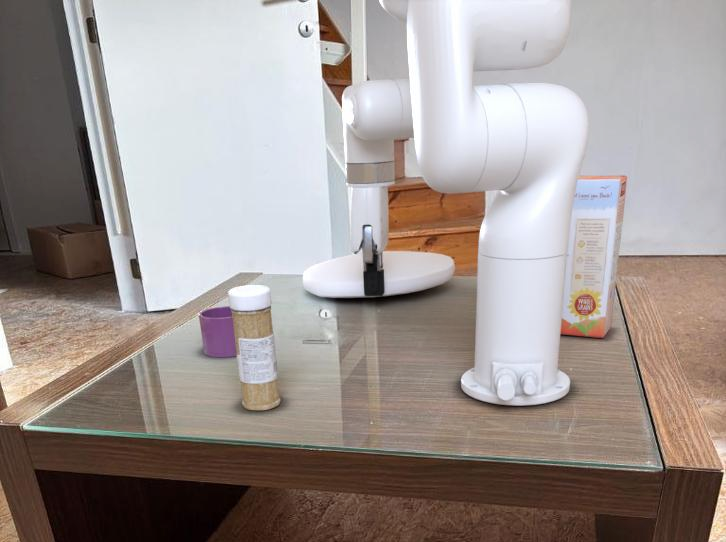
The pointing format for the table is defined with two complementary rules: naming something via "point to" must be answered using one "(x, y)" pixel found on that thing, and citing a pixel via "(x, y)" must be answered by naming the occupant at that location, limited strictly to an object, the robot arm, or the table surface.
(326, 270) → the plate
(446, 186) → the robot arm
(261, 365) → the spice jar
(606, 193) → the cracker box
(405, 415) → the table surface
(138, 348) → the table surface
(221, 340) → the cup
